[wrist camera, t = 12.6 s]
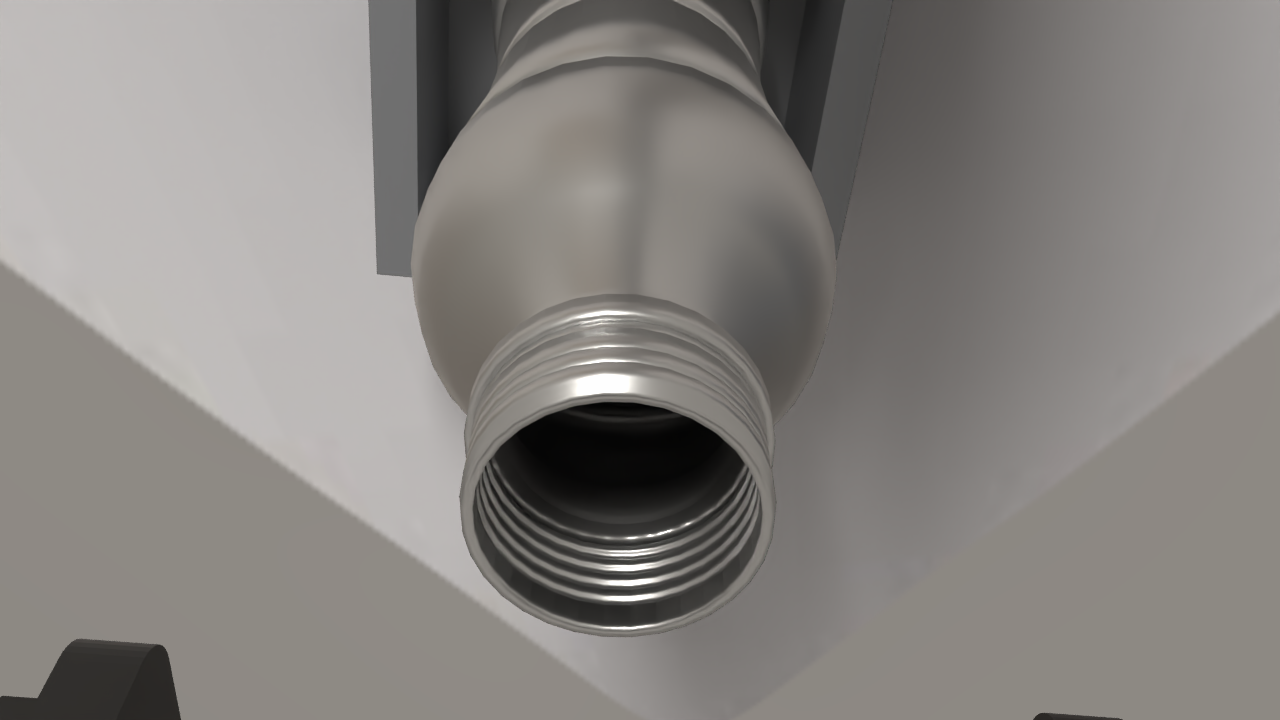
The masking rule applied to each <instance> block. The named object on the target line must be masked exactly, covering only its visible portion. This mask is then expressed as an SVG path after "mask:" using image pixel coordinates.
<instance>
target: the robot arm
mask: <svg viewBox="0 0 1280 720" xmlns="http://www.w3.org/2000/svg"><path fill="white" fill-rule="evenodd" d="M0 720H181V718H180V712H179V707H178V702H177V697H176V692H175V687H174V682H173V677H172V671H171V666H170V662H169V657H168V653H167V651H166V649H165V648H164V647H163V646H162V645H158V644H144V643H130V642H116V641H103V640H90V639H76V640H74V641H73V642H71V643H70V644H69V645H68V646H67V647H66V648H65V650H64V651H63V652H62V654H61V656H60V657H59V659H58V661H57V663H56V665H55V667H54V669H53V671H52V672H51V674H50V676H49V678H48V680H47V682H46V684H45V685H44V687H43V689H42V691H41V693H40V695H39V697H38V698H24V697H11V696H1V697H0ZM1033 720H1122V719H1119V718H1106V717H1094V716H1093V717H1092V716H1080V715H1066V714H1053V713H1040V714H1038V715H1037V716H1036V717H1035V718H1034V719H1033Z"/></svg>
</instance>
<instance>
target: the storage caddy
mask: <svg viewBox="0 0 1280 720" xmlns="http://www.w3.org/2000/svg"><path fill="white" fill-rule="evenodd" d="M768 1H769V16H768V29H767V40H766V50H765V56H764V60H763V63H762V67H761V71H760V82H761V85H762V88H763V91H764V94H765V97H766V100H767V102H768V104H769V106H770V107H771V109H772V111H773V112H774V114H775V115H776V117H777V118H778V120H779V121H780V123H781V125H782V126H783V128H784V129H785V131H786V132H787V134H788V136H789V137H790V138H791V139H792V141H793V143H794V144H795V146H796V148H797V150H798V151H799V153H800V155H801V156H802V158H803V160H804V162H805V163H806V165H807V167H808V168H809V170H810V172H811V174H812V177H813V179H814V182H815V184H816V187H817V189H818V191H819V193H820V195H821V197H822V201H823V204H824V207H825V210H826V213H827V216H828V219H829V222H830V225H831V229H832V232H833V235H834V245H835V256H836V259H837V254H838V250H839V245H840V241H841V236H842V232H843V227H844V222H845V218H846V213H847V209H848V204H849V199H850V195H851V190H852V186H853V181H854V177H855V172H856V167H857V163H858V158H859V154H860V149H861V144H862V140H863V135H864V131H865V126H866V121H867V117H868V112H869V108H870V103H871V99H872V94H873V89H874V85H875V80H876V76H877V71H878V66H879V62H880V57H881V53H882V48H883V44H884V39H885V34H886V30H887V25H888V21H889V16H890V11H891V7H892V2H893V0H768ZM368 2H369V34H370V66H371V98H372V130H373V162H374V194H375V226H376V258H377V274H380V275H392V276H403V277H412V271H411V257H412V248H413V240H414V231H415V224H416V222H417V219H418V216H419V213H420V210H421V207H422V204H423V202H424V199H425V196H426V193H427V190H428V188H429V186H430V184H431V182H432V180H433V178H434V176H435V174H436V172H437V170H438V167H439V165H440V163H441V162H442V160H443V158H444V157H445V155H446V154H447V152H448V150H449V149H450V147H451V146H452V144H453V142H454V141H455V139H456V138H457V136H458V134H459V133H460V131H461V130H462V129H463V128H464V127H465V125H466V124H467V122H468V121H469V120H470V118H471V117H472V115H473V114H474V113H475V111H476V110H477V109H478V107H479V106H480V104H481V103H482V102H483V100H484V99H485V97H486V96H487V95H488V93H489V91H490V88H491V86H492V83H493V81H494V78H495V76H496V73H497V64H498V61H497V57H496V53H495V49H494V39H493V20H492V1H491V0H368Z"/></svg>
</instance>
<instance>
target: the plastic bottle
mask: <svg viewBox="0 0 1280 720" xmlns="http://www.w3.org/2000/svg"><path fill="white" fill-rule="evenodd" d="M491 1H492V20H493V39H494V49H495V53H496V57H497V61H498V64H497V73H496V76H495V78H494V81H493V83H492V86H491V88H490V91H489V93H488V95H487V96H486V97H485V99H484V100H483V102H482V103H481V104H480V106H479V107H478V109H477V110H476V111H475V113H474V114H473V115H472V117H471V118H470V120H469V121H468V122H467V124H466V125H465V127H464V128H463V129H462V130H461V131H460V133H459V134H458V136H457V138H456V139H455V141H454V142H453V144H452V146H451V147H450V149H449V150H448V152H447V154H446V155H445V157H444V158H443V160H442V162H441V163H440V165H439V167H438V170H437V172H436V174H435V176H434V178H433V180H432V182H431V184H430V186H429V188H428V190H427V193H426V196H425V199H424V202H423V204H422V207H421V210H420V213H419V216H418V219H417V222H416V224H415V231H414V240H413V248H412V257H411V271H412V280H413V290H414V300H415V305H416V309H417V314H418V318H419V322H420V327H421V331H422V335H423V338H424V341H425V344H426V347H427V350H428V353H429V356H430V359H431V362H432V365H433V367H434V369H435V371H436V372H437V374H438V376H439V378H440V379H441V381H442V383H443V385H444V386H445V388H446V390H447V392H448V393H449V395H450V397H451V398H452V399H453V400H454V401H455V403H456V404H457V405H458V406H459V407H460V408H461V409H462V411H463V412H464V413H465V414H466V415H467V418H466V424H465V430H464V440H465V452H466V462H465V467H464V471H463V477H462V483H461V490H460V496H459V497H460V510H461V521H462V532H463V535H464V538H465V541H466V544H467V547H468V550H469V553H470V555H471V557H472V559H473V560H474V562H475V564H476V565H477V567H478V568H479V570H480V572H481V573H482V575H483V576H484V578H485V579H486V580H487V581H488V582H489V583H490V584H491V585H492V586H493V587H494V588H495V589H496V590H497V591H498V592H499V593H500V594H501V595H502V596H503V597H504V598H506V599H507V600H508V601H510V602H511V603H513V604H514V605H515V606H517V607H518V608H519V609H521V610H522V611H524V612H526V613H528V614H530V615H532V616H534V617H536V618H538V619H540V620H542V621H544V622H546V623H548V624H551V625H554V626H558V627H561V628H564V629H567V630H570V631H573V632H578V633H584V634H591V635H597V636H605V637H635V636H643V635H651V634H659V633H663V632H666V631H670V630H673V629H677V628H680V627H684V626H687V625H689V624H691V623H694V622H696V621H698V620H700V619H702V618H704V617H707V616H709V615H711V614H712V613H714V612H715V611H717V610H718V609H720V608H721V607H723V606H724V605H726V604H727V603H729V602H730V601H731V600H733V599H734V598H735V597H736V596H737V595H738V594H739V593H740V592H741V591H742V590H743V589H744V588H745V587H746V586H747V585H748V584H749V583H750V582H751V580H752V579H753V577H754V576H755V574H756V573H757V571H758V569H759V568H760V566H761V565H762V563H763V562H764V560H765V557H766V554H767V551H768V549H769V546H770V543H771V540H772V536H773V527H774V520H775V510H776V497H775V489H774V482H773V476H772V470H771V469H772V466H773V458H774V449H775V434H774V427H773V426H774V425H775V424H776V423H777V422H778V421H779V420H780V419H781V418H782V417H783V416H784V414H785V413H786V412H787V411H788V410H789V409H790V408H791V407H792V406H793V405H794V403H795V402H796V400H797V398H798V397H799V395H800V393H801V392H802V390H803V389H804V387H805V385H806V384H807V382H808V380H809V379H810V377H811V375H812V374H813V371H814V368H815V365H816V362H817V359H818V357H819V354H820V351H821V348H822V345H823V342H824V339H825V335H826V332H827V328H828V325H829V321H830V317H831V314H832V310H833V302H834V294H835V286H836V278H837V266H836V256H835V245H834V235H833V232H832V229H831V225H830V222H829V219H828V216H827V213H826V210H825V207H824V204H823V201H822V197H821V195H820V193H819V191H818V189H817V187H816V184H815V182H814V179H813V177H812V174H811V172H810V170H809V168H808V167H807V165H806V163H805V162H804V160H803V158H802V156H801V155H800V153H799V151H798V150H797V148H796V146H795V144H794V143H793V141H792V139H791V138H790V137H789V136H788V134H787V132H786V131H785V129H784V128H783V126H782V125H781V123H780V121H779V120H778V118H777V117H776V115H775V114H774V112H773V111H772V109H771V107H770V106H769V104H768V102H767V100H766V97H765V94H764V91H763V88H762V85H761V82H760V71H761V67H762V63H763V60H764V56H765V50H766V40H767V29H768V16H769V1H768V0H491Z"/></svg>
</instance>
